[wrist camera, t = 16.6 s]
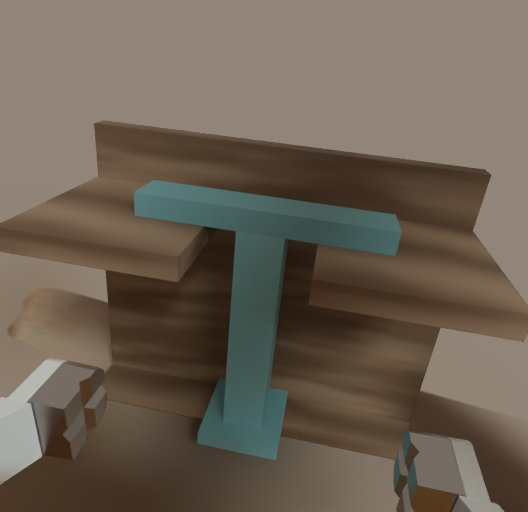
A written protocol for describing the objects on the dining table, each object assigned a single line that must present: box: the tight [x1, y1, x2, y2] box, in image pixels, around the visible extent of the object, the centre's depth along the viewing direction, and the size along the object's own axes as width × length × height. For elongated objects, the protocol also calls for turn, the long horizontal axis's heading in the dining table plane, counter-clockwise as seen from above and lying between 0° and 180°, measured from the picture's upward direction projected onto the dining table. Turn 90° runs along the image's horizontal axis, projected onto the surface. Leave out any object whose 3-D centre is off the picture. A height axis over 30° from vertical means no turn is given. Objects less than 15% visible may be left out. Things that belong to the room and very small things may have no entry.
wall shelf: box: [0, 121, 528, 460], centre depth 31 cm, size 12×28×24 cm, turn 80°
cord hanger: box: [134, 180, 401, 461], centre depth 30 cm, size 6×16×18 cm, turn 80°
